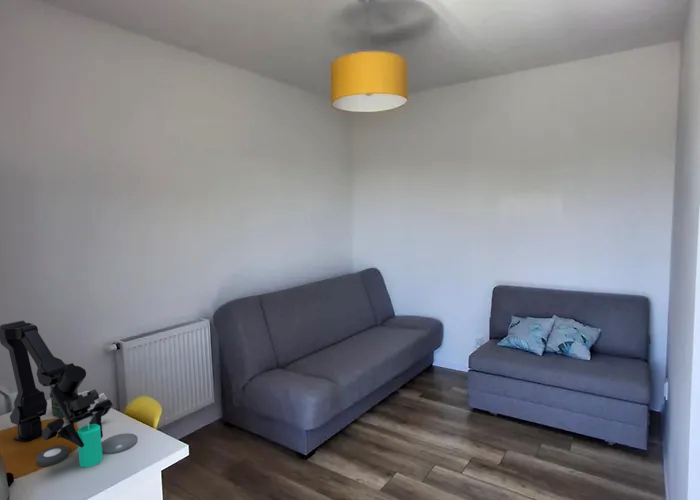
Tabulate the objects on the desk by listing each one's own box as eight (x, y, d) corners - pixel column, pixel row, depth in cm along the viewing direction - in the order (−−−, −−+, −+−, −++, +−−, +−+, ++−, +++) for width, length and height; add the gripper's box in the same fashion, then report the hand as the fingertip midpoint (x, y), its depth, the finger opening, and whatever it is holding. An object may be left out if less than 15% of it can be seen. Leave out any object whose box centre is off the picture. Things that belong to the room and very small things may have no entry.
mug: (78, 434, 147) (75, 400, 146) (75, 427, 152) (73, 394, 151) (111, 425, 153) (109, 392, 152) (107, 418, 159) (105, 386, 157)
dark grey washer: (30, 465, 129) (29, 458, 129) (53, 450, 137) (53, 444, 137) (52, 467, 128) (51, 461, 128) (74, 453, 136) (74, 446, 135)
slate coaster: (90, 451, 136) (90, 449, 136) (116, 434, 147) (116, 431, 147) (120, 455, 134) (120, 453, 134) (144, 437, 144) (144, 435, 144)
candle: (86, 469, 126) (82, 430, 125) (75, 463, 130) (72, 425, 129) (106, 459, 132) (103, 421, 130) (96, 454, 135) (93, 417, 134)
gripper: (44, 396, 122) (69, 443, 118) (107, 374, 139) (131, 414, 134) (31, 417, 127) (55, 463, 122) (94, 393, 143) (117, 432, 139)
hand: (92, 441), depth 129 cm, fingers closed on candle, 5 cm apart
